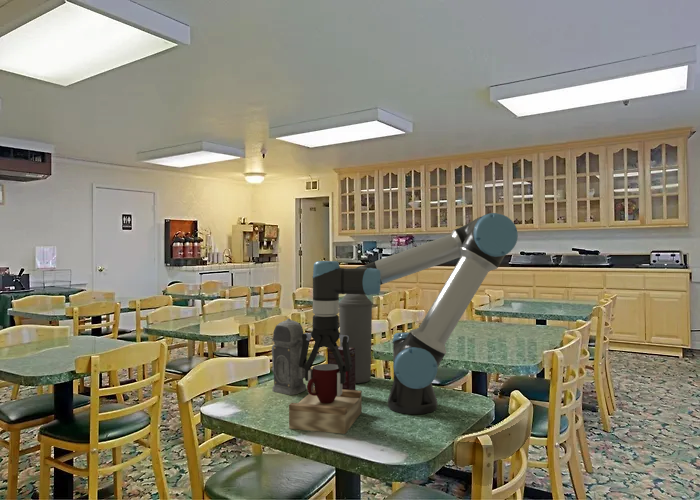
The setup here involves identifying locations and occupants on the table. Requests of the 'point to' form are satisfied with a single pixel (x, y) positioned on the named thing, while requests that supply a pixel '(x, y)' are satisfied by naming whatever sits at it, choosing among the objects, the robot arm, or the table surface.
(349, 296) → the canister
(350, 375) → the supplement box
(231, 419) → the table surface
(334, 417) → the pedestal
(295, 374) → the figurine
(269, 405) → the table surface
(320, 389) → the mug
